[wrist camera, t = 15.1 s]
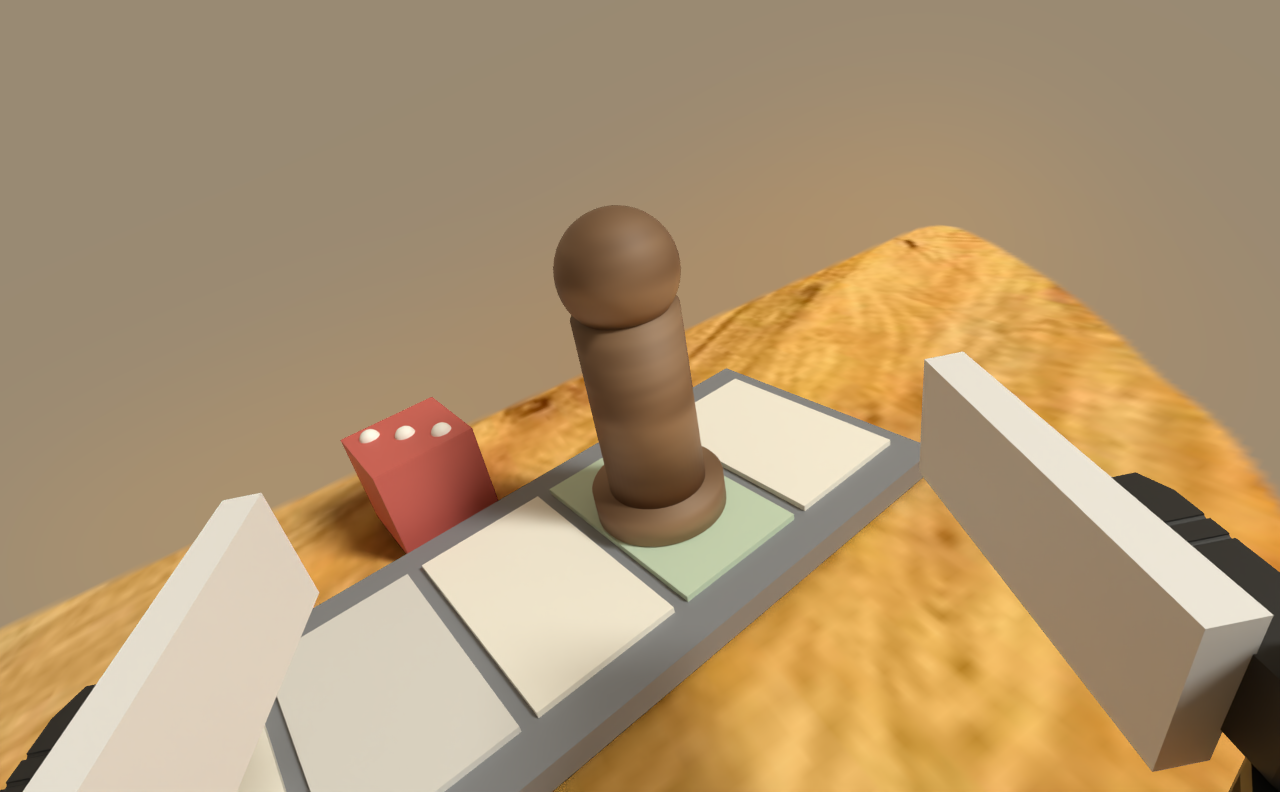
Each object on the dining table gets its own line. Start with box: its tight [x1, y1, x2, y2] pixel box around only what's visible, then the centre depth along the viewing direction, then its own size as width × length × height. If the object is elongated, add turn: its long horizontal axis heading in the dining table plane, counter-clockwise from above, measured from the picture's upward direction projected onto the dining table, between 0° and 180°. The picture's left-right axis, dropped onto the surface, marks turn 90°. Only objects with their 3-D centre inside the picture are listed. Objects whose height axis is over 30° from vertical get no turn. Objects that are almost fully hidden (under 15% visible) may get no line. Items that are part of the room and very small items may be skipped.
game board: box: [237, 369, 923, 792], centre depth 25 cm, size 12×31×1 cm, turn 129°
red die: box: [341, 397, 498, 554], centre depth 30 cm, size 4×4×5 cm
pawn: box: [553, 205, 726, 547], centre depth 24 cm, size 5×5×12 cm
